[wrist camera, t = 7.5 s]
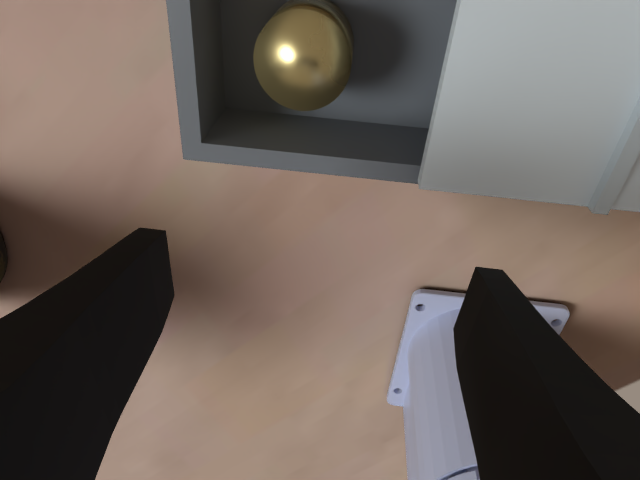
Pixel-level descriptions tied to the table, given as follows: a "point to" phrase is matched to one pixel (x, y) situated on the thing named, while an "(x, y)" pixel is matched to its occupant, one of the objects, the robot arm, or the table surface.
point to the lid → (539, 104)
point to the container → (2, 258)
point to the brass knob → (305, 54)
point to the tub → (317, 125)
